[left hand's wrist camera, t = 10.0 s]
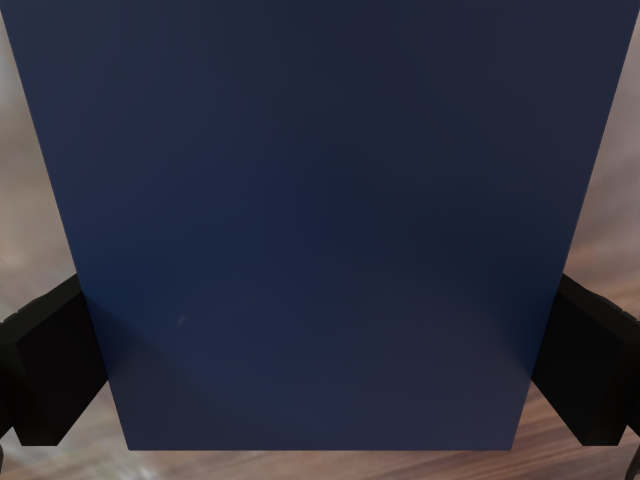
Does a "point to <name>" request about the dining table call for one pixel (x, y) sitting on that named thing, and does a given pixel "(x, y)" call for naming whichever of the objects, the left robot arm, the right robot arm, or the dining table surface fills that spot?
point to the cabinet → (319, 205)
